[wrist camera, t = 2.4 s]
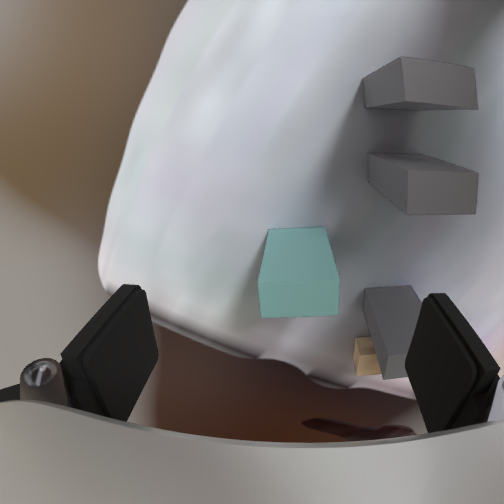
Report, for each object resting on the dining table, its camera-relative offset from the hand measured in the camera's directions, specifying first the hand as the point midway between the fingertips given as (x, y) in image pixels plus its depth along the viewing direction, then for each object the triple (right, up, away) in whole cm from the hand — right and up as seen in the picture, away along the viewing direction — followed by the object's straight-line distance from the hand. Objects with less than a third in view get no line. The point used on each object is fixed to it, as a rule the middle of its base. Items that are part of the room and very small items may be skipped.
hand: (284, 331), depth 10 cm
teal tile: (+3, +3, +19) cm, 19 cm away
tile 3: (+13, -2, +20) cm, 24 cm away
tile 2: (+11, +10, +15) cm, 21 cm away
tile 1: (+11, +16, +12) cm, 23 cm away
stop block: (+13, -8, +22) cm, 27 cm away
